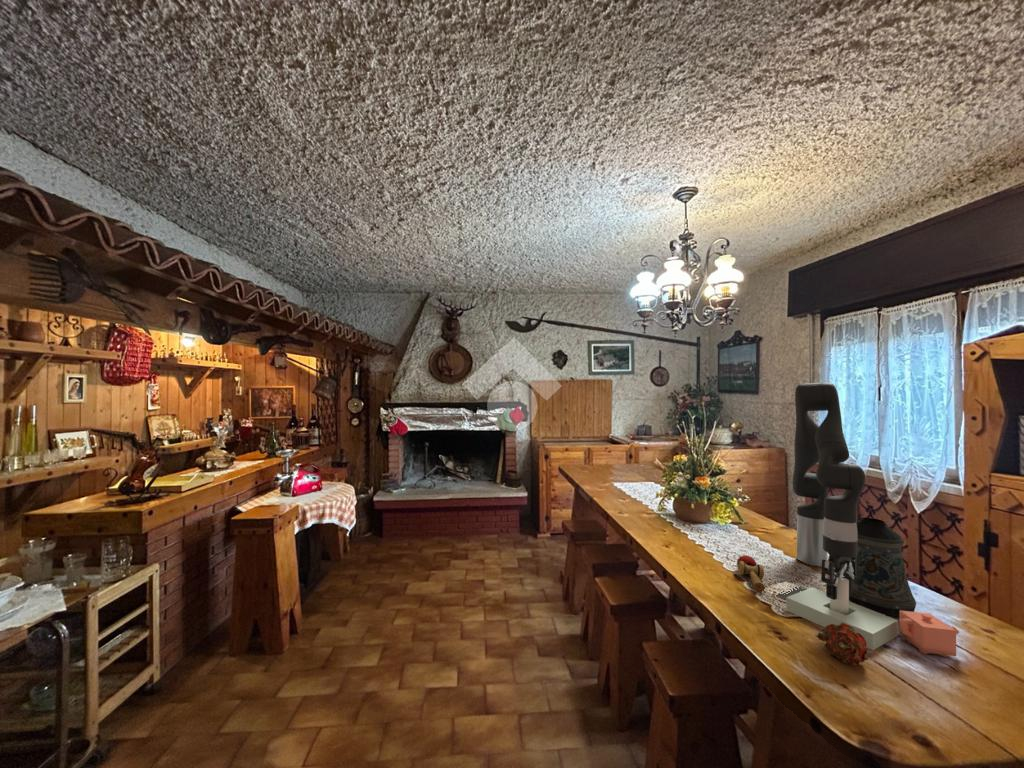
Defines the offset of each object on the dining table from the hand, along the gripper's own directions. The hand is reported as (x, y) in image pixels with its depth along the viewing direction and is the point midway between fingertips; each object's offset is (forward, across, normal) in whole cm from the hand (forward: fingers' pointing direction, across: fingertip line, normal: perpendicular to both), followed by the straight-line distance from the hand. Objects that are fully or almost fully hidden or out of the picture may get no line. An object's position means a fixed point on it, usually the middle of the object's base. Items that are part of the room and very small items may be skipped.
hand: (839, 594), depth 113 cm
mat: (+8, -6, -16) cm, 19 cm away
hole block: (+8, 0, 0) cm, 8 cm away
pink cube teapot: (+8, -7, +16) cm, 19 cm away
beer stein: (+8, -22, -1) cm, 23 cm away
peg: (+8, 0, 0) cm, 8 cm away
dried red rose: (+8, +17, +8) cm, 20 cm away
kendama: (+8, -3, -26) cm, 27 cm away
